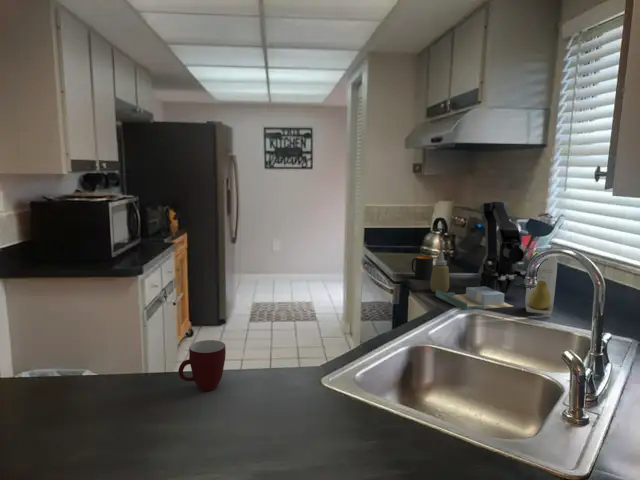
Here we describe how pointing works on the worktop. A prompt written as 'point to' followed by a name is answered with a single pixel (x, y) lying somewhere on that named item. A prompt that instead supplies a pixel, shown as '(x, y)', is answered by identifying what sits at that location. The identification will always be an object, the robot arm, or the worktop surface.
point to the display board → (466, 301)
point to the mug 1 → (205, 364)
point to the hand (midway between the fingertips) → (503, 295)
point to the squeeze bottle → (440, 275)
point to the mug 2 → (423, 267)
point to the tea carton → (485, 295)
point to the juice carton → (542, 289)
